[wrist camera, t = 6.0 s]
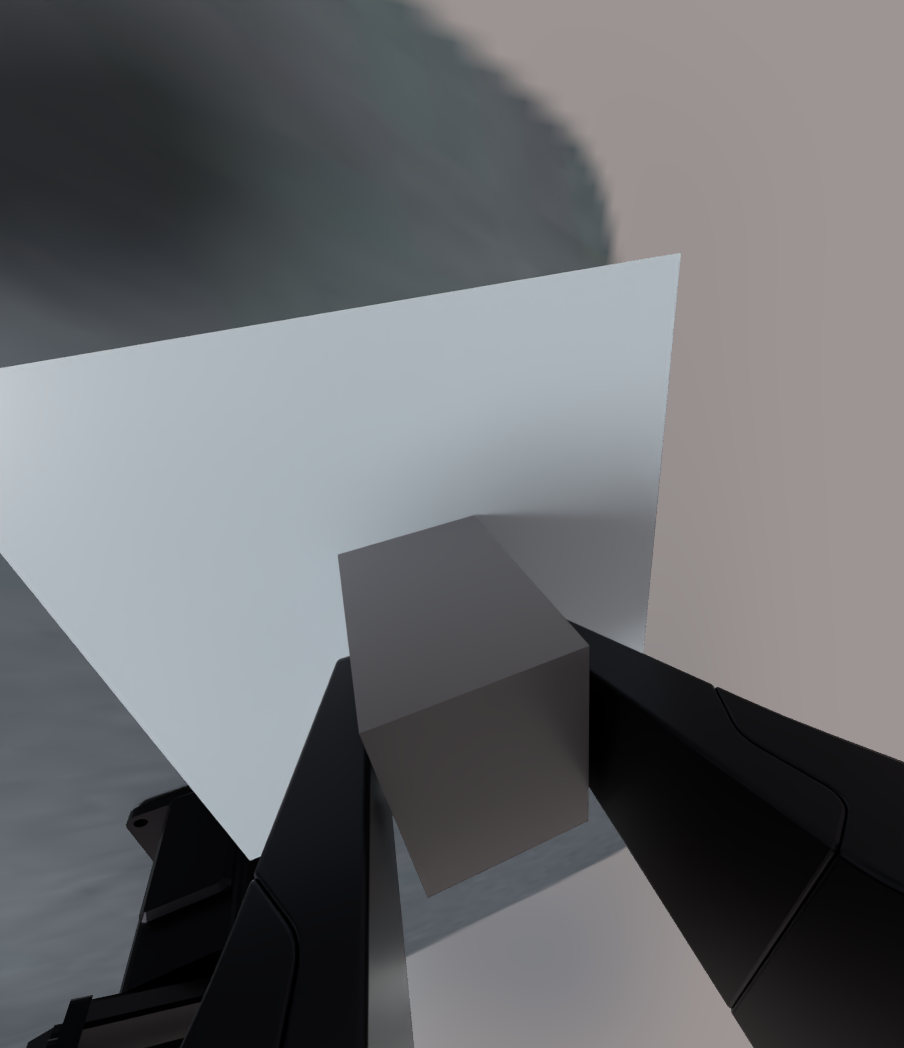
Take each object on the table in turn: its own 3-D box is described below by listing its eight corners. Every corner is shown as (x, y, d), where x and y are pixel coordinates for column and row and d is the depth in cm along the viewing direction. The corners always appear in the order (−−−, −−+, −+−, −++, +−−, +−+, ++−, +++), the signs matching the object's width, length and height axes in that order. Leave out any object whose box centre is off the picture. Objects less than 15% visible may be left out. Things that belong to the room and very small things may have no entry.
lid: (622, 677, 14) (758, 828, 10) (253, 828, 11) (220, 1117, 7) (649, 259, 8) (1009, 182, 4) (-77, 382, 6) (-1144, 526, 2)
